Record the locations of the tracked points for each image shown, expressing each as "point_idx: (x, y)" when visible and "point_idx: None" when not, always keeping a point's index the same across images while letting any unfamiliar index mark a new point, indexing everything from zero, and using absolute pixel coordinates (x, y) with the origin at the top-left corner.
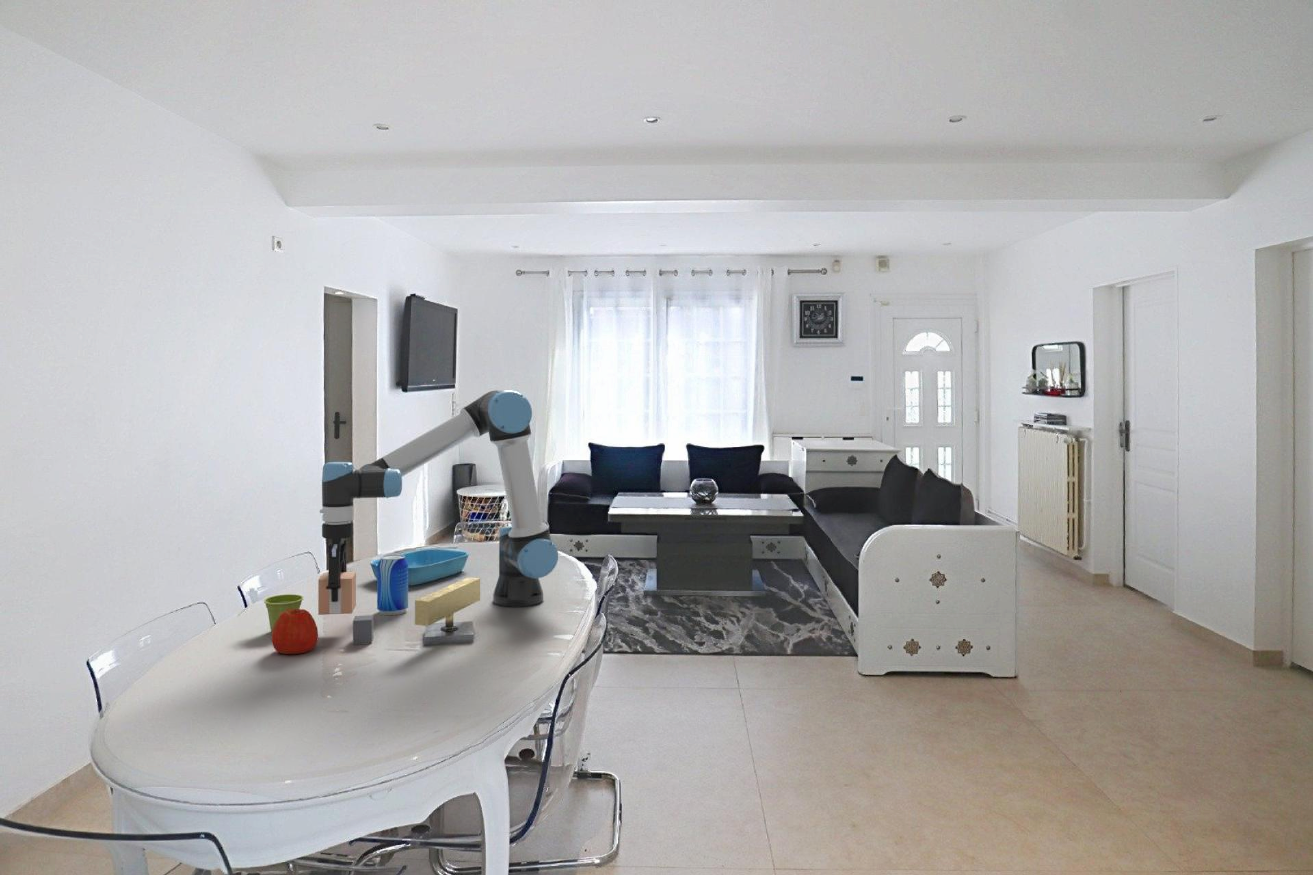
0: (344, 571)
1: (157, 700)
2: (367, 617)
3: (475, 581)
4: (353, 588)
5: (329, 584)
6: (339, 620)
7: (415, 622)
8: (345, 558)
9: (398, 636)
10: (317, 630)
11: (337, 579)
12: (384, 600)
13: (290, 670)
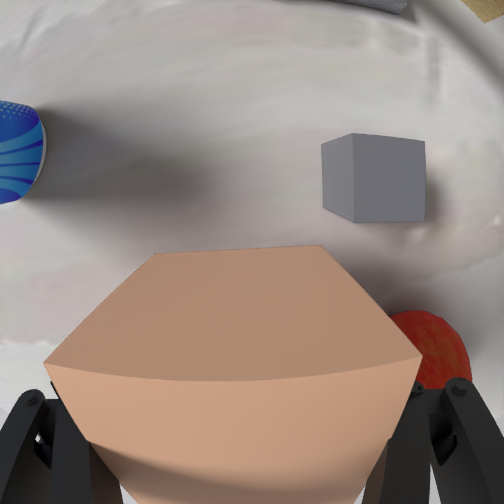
0: (90, 448)
1: (490, 410)
2: (389, 160)
3: None
4: (263, 300)
5: (453, 431)
6: (91, 299)
7: (488, 20)
8: (2, 499)
9: (308, 64)
10: (428, 328)
11: (486, 420)
12: (14, 167)
13: (490, 311)
